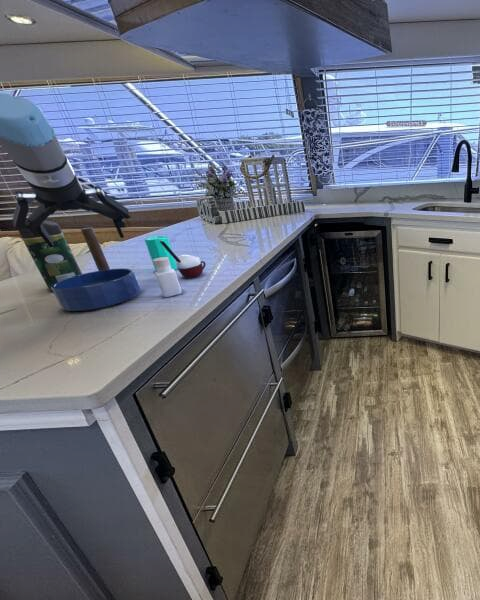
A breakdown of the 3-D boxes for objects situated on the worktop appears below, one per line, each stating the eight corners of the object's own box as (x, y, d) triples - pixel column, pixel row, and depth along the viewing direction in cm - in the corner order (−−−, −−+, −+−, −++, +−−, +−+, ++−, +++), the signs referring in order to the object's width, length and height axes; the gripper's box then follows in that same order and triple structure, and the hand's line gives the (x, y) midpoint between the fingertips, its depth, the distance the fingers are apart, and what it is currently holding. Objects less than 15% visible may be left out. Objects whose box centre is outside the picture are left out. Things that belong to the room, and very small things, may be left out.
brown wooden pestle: (99, 290, 88) (72, 231, 82) (100, 286, 92) (75, 228, 85) (122, 286, 91) (98, 228, 84) (122, 281, 95) (99, 225, 88)
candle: (161, 273, 100) (147, 235, 96) (152, 271, 103) (138, 234, 99) (181, 268, 105) (169, 231, 100) (172, 266, 108) (160, 230, 103)
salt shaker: (164, 298, 81) (151, 262, 77) (162, 294, 84) (149, 259, 80) (182, 294, 83) (171, 258, 79) (180, 290, 86) (168, 255, 82)
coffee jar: (49, 285, 94) (16, 221, 86) (85, 278, 99) (57, 217, 91) (47, 294, 87) (12, 225, 80) (86, 286, 92) (56, 220, 85)
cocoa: (206, 271, 101) (195, 233, 96) (211, 275, 97) (199, 236, 92) (171, 278, 96) (157, 238, 91) (174, 283, 91) (160, 242, 86)
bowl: (58, 319, 72) (45, 294, 69) (67, 299, 83) (56, 277, 80) (142, 300, 80) (133, 277, 78) (140, 285, 91) (132, 264, 89)
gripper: (-42, 195, 58) (20, 259, 74) (132, 185, 72) (150, 241, 89) (-48, 164, 59) (14, 233, 76) (122, 160, 73) (143, 219, 90)
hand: (87, 238), depth 82 cm, fingers open, 13 cm apart
